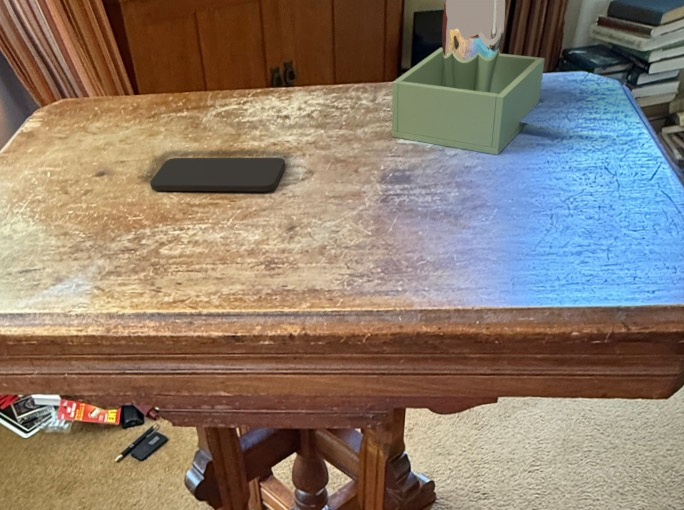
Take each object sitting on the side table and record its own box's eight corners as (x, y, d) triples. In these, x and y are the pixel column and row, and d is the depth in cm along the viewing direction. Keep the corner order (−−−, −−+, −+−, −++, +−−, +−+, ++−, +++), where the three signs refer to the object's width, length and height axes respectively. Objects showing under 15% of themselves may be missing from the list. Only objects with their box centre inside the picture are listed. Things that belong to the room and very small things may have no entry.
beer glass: (434, 128, 88) (439, -3, 79) (442, 107, 93) (448, -19, 84) (493, 130, 86) (505, -4, 77) (497, 108, 91) (509, -20, 82)
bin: (537, 112, 91) (544, 58, 87) (497, 155, 83) (503, 97, 78) (438, 98, 98) (440, 47, 93) (391, 136, 89) (391, 82, 85)
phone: (167, 157, 88) (286, 157, 85) (169, 163, 89) (287, 163, 85) (146, 185, 83) (273, 186, 79) (148, 192, 83) (274, 193, 80)
